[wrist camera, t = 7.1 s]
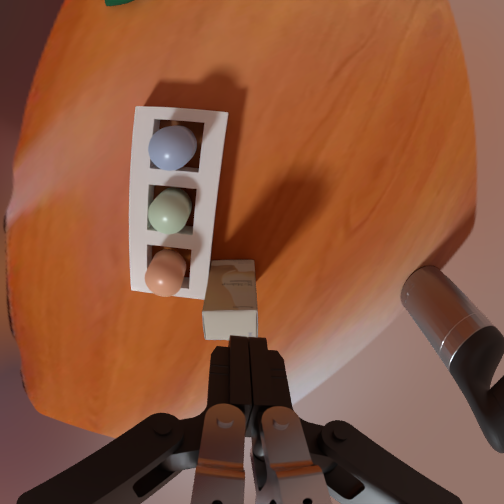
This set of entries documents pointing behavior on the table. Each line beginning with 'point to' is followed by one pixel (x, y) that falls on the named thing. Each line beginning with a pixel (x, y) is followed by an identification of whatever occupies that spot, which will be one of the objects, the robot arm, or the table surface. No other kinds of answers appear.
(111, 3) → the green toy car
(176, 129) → the blue button
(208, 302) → the skincare box
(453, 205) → the table surface
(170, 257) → the terracotta button
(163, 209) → the green button
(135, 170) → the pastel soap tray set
